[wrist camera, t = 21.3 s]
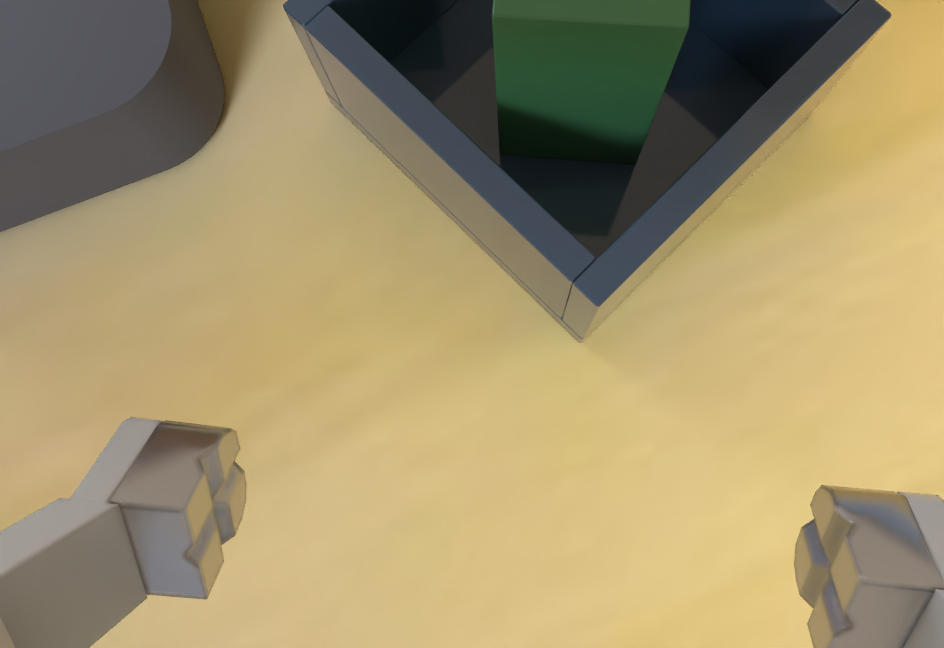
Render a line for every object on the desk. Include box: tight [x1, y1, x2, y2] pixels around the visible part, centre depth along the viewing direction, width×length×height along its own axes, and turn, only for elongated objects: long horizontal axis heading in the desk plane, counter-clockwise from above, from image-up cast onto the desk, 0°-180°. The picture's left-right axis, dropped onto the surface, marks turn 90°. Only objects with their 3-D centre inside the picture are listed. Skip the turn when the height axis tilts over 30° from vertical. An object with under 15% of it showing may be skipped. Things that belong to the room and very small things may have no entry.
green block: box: [492, 0, 691, 164], centre depth 25 cm, size 5×5×9 cm
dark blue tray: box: [283, 0, 891, 343], centre depth 27 cm, size 13×12×6 cm
